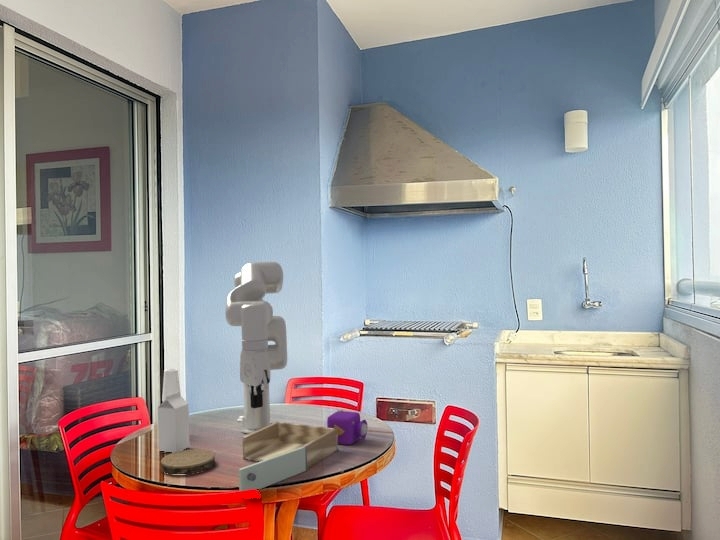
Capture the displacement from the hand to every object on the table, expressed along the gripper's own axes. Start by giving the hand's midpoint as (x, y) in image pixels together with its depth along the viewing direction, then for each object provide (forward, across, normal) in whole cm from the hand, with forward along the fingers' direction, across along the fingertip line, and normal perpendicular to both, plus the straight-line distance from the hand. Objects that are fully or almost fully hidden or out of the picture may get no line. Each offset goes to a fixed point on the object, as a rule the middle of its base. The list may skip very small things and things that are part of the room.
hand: (256, 407), depth 164 cm
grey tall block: (+21, -57, -1) cm, 61 cm away
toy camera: (+20, -2, +38) cm, 43 cm away
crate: (+20, -6, +16) cm, 26 cm away
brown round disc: (+20, -21, -12) cm, 31 cm away
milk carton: (+20, -39, -8) cm, 45 cm away
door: (+19, +11, -1) cm, 22 cm away
